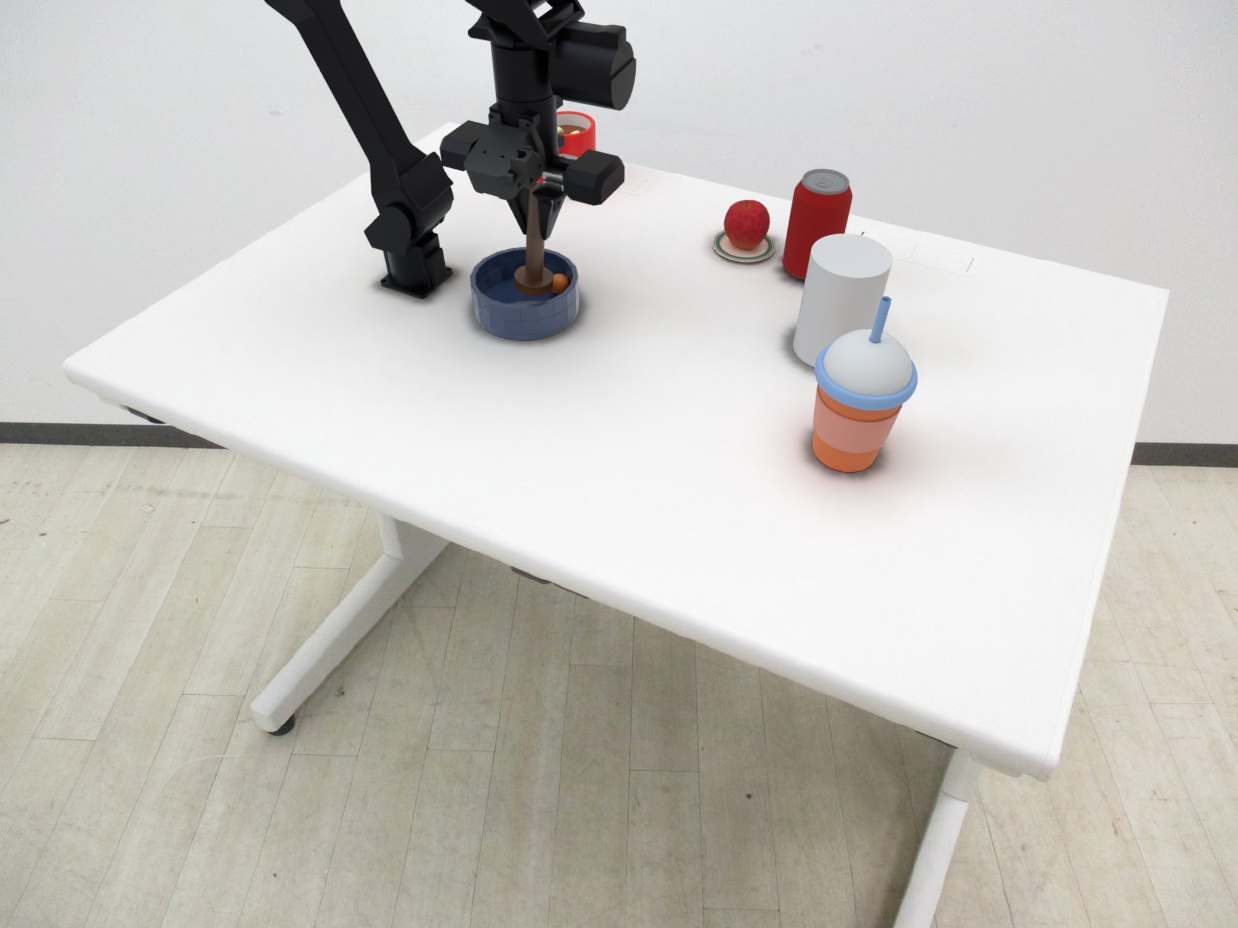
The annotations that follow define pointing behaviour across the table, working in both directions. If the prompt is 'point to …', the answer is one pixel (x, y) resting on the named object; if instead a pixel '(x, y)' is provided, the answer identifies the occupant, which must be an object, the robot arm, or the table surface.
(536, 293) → the muddler
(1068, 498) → the table surface
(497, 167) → the robot arm
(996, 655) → the table surface
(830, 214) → the beverage can
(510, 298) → the bowl
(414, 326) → the table surface
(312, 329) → the table surface
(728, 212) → the apple
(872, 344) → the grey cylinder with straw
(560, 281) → the bead
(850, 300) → the grey cylinder
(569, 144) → the mug
